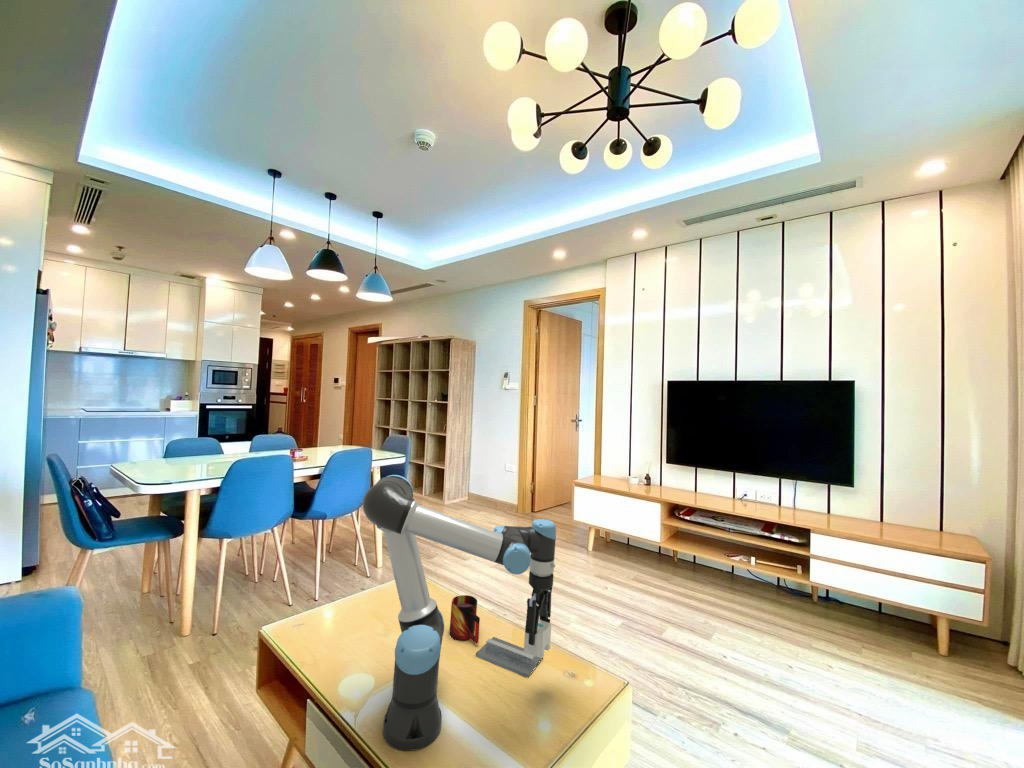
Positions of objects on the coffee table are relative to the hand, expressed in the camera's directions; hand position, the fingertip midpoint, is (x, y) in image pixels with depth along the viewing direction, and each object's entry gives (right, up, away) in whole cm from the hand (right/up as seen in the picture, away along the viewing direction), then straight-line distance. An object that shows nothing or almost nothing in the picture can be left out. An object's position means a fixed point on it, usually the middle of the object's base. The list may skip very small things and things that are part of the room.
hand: (536, 648), depth 126 cm
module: (0, 0, 0) cm, 0 cm away
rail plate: (-9, -13, +16) cm, 22 cm away
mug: (-24, -13, +27) cm, 39 cm away
